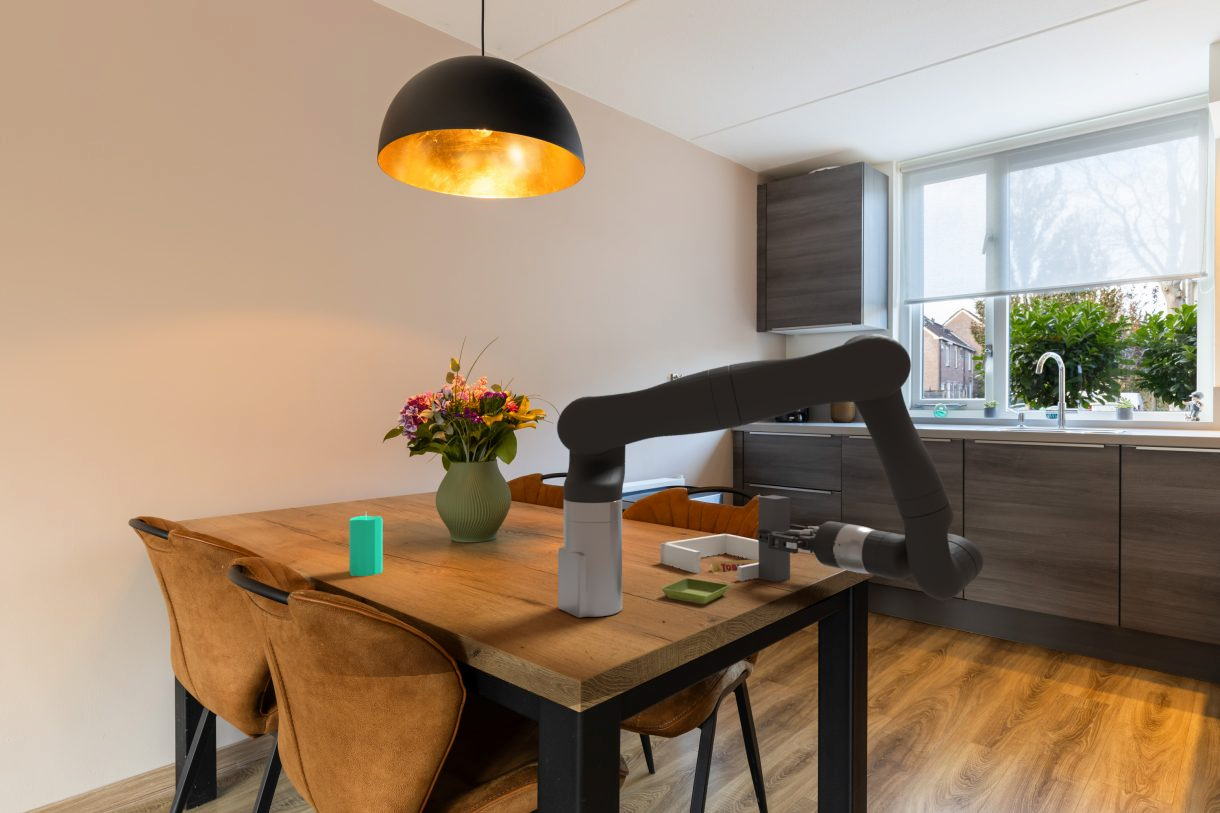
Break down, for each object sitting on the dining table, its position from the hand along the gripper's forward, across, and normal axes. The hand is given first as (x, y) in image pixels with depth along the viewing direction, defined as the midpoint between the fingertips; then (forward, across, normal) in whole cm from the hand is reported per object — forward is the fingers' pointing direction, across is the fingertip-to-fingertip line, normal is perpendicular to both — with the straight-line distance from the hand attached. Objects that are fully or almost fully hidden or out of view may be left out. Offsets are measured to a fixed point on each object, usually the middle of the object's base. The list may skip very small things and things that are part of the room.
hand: (774, 532), depth 127 cm
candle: (+48, +60, +9) cm, 78 cm away
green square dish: (0, +20, +9) cm, 22 cm away
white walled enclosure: (+17, 0, +8) cm, 19 cm away
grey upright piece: (0, 0, +8) cm, 9 cm away
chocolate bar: (+9, 0, +9) cm, 13 cm away
